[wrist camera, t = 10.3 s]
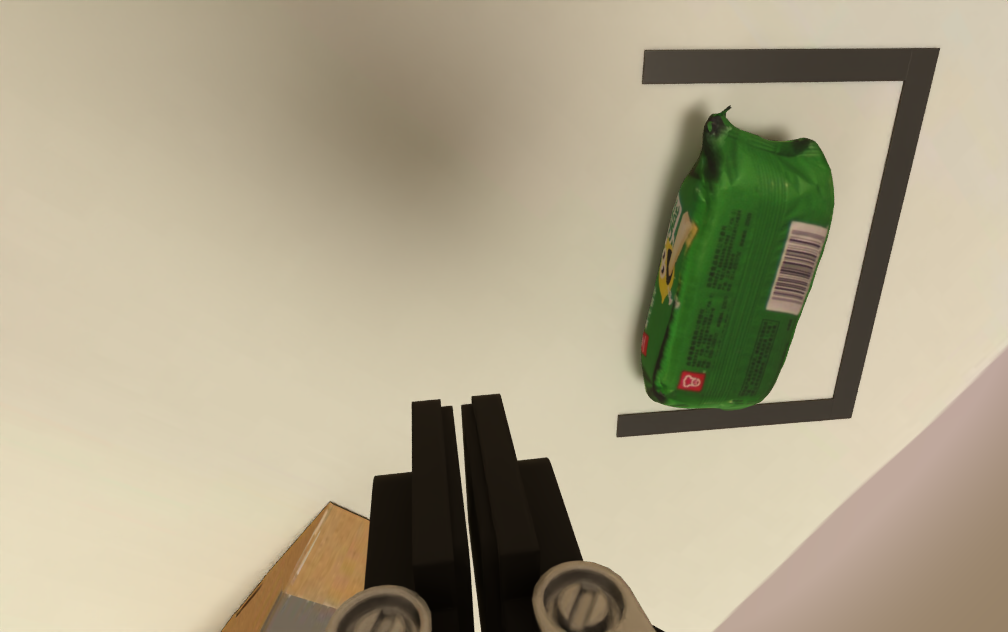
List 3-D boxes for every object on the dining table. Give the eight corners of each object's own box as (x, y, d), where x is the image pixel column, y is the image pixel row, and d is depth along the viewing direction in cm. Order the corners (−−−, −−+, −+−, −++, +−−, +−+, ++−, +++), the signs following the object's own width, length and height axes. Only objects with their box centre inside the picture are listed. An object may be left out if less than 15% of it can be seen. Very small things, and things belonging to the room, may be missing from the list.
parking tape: (644, 50, 29) (645, 49, 29) (938, 48, 31) (940, 48, 31) (616, 436, 37) (617, 437, 37) (850, 417, 39) (851, 418, 39)
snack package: (809, 126, 31) (879, 136, 27) (729, 394, 37) (774, 442, 32) (679, 107, 30) (727, 114, 26) (616, 387, 36) (646, 436, 31)
